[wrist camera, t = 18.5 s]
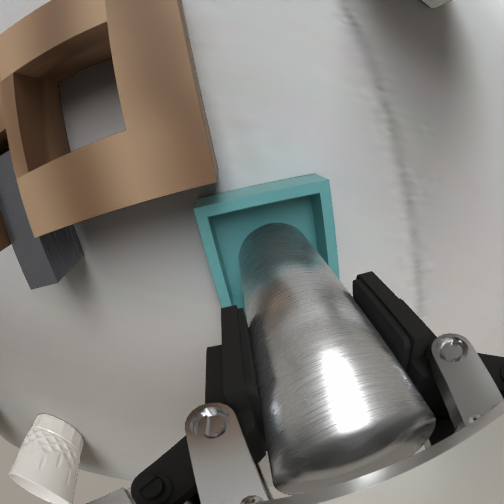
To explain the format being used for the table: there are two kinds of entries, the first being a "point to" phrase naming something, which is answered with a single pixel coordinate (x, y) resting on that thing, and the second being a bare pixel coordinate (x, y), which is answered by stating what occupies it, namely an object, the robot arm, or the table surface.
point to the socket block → (132, 104)
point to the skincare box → (435, 3)
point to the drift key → (26, 245)
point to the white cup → (49, 460)
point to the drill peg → (322, 370)
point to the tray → (260, 213)
